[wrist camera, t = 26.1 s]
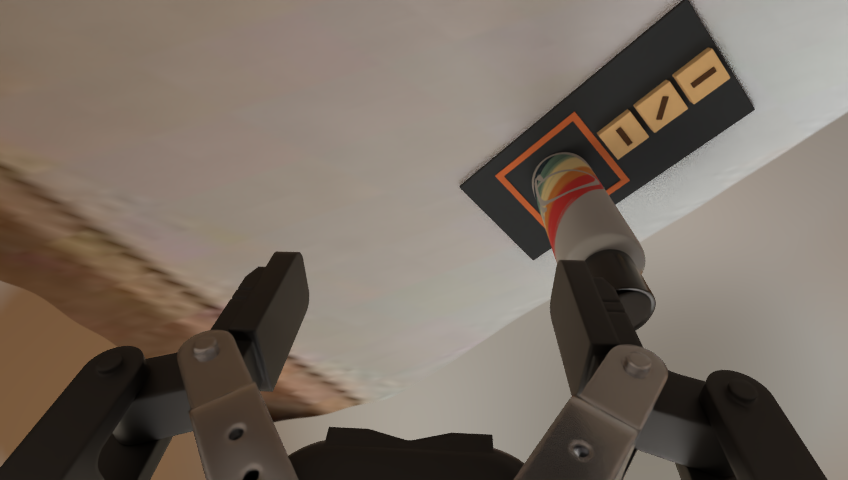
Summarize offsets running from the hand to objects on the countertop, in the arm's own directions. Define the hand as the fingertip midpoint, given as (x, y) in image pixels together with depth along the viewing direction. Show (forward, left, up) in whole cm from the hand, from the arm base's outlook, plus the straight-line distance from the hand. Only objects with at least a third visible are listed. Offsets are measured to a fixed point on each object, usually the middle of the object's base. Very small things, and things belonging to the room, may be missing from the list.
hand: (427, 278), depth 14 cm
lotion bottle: (+14, -5, -30) cm, 33 cm away
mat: (+16, -1, -30) cm, 34 cm away
